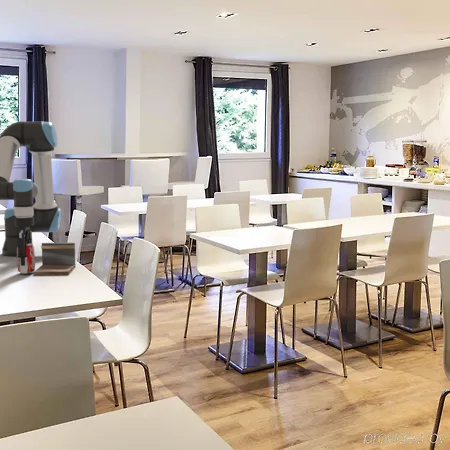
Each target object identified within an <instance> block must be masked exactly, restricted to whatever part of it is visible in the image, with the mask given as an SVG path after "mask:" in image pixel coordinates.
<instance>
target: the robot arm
mask: <svg viewBox="0 0 450 450" xmlns="http://www.w3.org/2000/svg"><path fill="white" fill-rule="evenodd" d="M57 145H58V137H57V131H56V127H55V125H54V124H53V122H51V121H43V120H42V121H16V122H13V123H12V124H10V125H8V126H7V127H6V128H4V130H3V131H2V132H1V134H0V201H10V200H11V201H13V207H9V208H5V210H4V217H3V219H4V235H5V236H4V238H5V239H4V242H3V245H2V249H1V254H2V256H7V257H16V259H17V258H20V272H19V273H20V274H23V273H26V274H28V273H27V257H26V247H27V244H29V243H32V245H33V247H34V248H35V246H34V244H33V234H32V233H56V232H58V231H59V230H60V226H61V221H62V209H61V208H59V207H58V204H57V203H56V202H55V199H54V196H55V195H54V184H53V182H54V180H53V178H54V177H53V165H52V153H53V152H54V151H55V148H56V147H57ZM20 147H27V148H28V152H29V153H31V155H32V157H31V158H32V169H33V170H32V171H33V180H32V179H31V178H30V179H29V178H18V179H14V180H13V182H11V181H10V178H11V177H12V176H11V175H12V172H13V166H14V163H15V158H16V154H17V152H18V151H19V150H20ZM33 181H34V182H33ZM34 199H35V203H34ZM17 247H18V256H17ZM34 253H35V251H34Z"/></svg>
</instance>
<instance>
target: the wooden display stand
mask: <svg viewBox="0 0 450 450" xmlns="http://www.w3.org/2000/svg"><path fill="white" fill-rule="evenodd" d="M40 248H41V260H42V265H40V266H39V267H38V268H37V269H35V270H34V271H33V274H34V276H69V275H70V274H72V272H73V270H75V269H76V243H75V242H41V245H40Z"/></svg>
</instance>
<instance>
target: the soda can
mask: <svg viewBox="0 0 450 450" xmlns="http://www.w3.org/2000/svg"><path fill="white" fill-rule="evenodd" d="M32 244H33V242H32V243H29V244H27V247H26V257H27V273H22V275H23V274H31V273H34V271H36V264H35V263H36V261H35V258H36V257H35V253H34V252H35V246H34V244H33V245H32ZM33 246H34V247H33ZM17 256H18V247H17ZM17 256H16V266H17V271H18V272H19V273H20V258H17Z"/></svg>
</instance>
